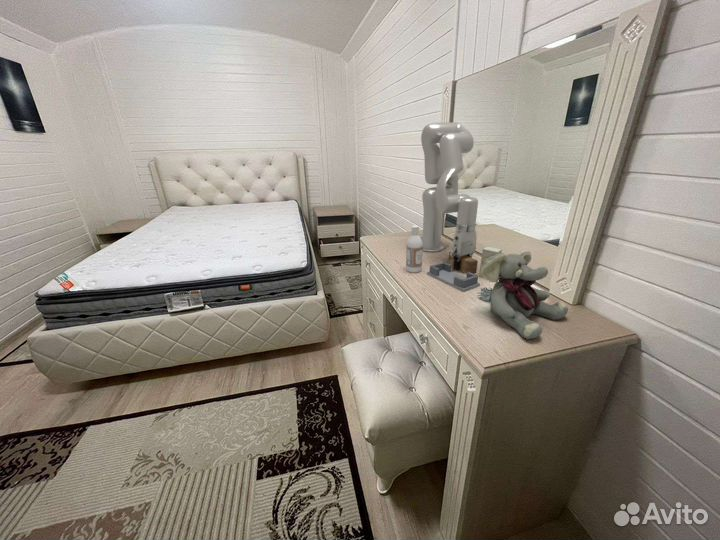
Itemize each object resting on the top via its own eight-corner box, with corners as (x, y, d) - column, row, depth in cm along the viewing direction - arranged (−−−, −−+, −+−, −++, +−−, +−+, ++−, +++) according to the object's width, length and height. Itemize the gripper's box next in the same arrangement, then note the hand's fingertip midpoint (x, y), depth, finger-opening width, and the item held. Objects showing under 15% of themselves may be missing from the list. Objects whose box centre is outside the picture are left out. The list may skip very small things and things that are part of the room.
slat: (447, 264, 136) (448, 252, 133) (455, 262, 137) (456, 250, 135) (468, 275, 124) (469, 262, 121) (476, 273, 125) (477, 260, 123)
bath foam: (413, 274, 127) (414, 229, 119) (402, 269, 132) (403, 226, 124) (425, 270, 130) (427, 226, 122) (414, 265, 135) (415, 223, 128)
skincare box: (478, 276, 122) (481, 248, 117) (482, 273, 125) (486, 245, 120) (493, 280, 118) (498, 252, 113) (497, 276, 121) (502, 248, 116)
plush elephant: (575, 321, 90) (594, 258, 82) (530, 345, 80) (546, 276, 72) (499, 288, 112) (508, 236, 104) (457, 304, 102) (463, 248, 94)
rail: (427, 274, 126) (427, 265, 124) (442, 269, 130) (443, 261, 129) (463, 291, 110) (464, 282, 108) (479, 285, 114) (481, 276, 112)
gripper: (457, 233, 116) (454, 274, 123) (486, 226, 124) (481, 265, 131) (444, 229, 122) (441, 269, 129) (472, 222, 130) (468, 260, 137)
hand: (461, 266), depth 130 cm, fingers open, 5 cm apart
